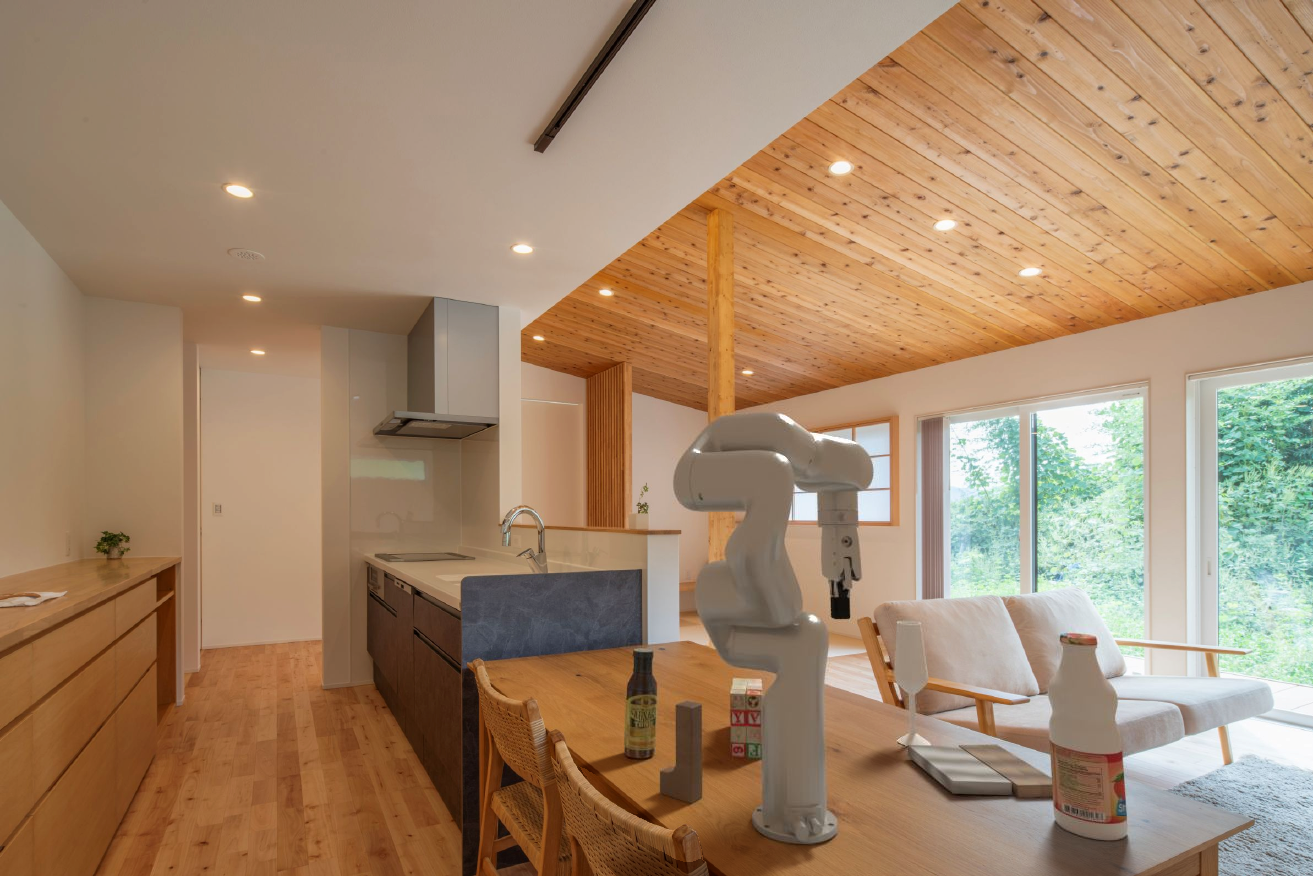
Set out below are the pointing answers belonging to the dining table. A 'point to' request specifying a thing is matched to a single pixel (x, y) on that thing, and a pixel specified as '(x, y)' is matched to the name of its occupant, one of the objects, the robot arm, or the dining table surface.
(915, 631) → the champagne flute
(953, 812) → the dining table surface
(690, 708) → the wooden block
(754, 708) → the stack of blocks
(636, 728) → the sauce bottle
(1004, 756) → the walnut floor strip
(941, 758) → the grey plank
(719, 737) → the dining table surface
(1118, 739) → the fruit juice
